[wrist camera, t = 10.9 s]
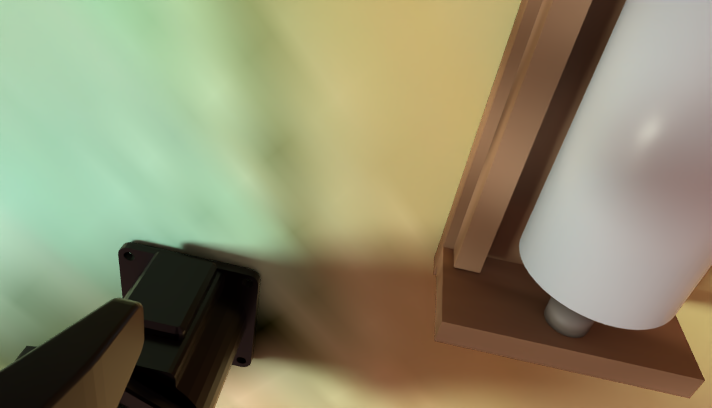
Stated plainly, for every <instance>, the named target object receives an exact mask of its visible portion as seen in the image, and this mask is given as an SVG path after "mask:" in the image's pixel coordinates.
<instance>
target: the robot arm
mask: <svg viewBox="0 0 712 408" xmlns="http://www.w3.org/2000/svg"><path fill="white" fill-rule="evenodd" d="M129 252H130V253H132V254H133V255H132V254H130V253H129ZM118 256H119V266H120V276H121V286H122V296H123V298H114V299H112V300H110V301H109V302H107V303H105V304H104V305H102V306H101V307H99V308H98V309H96V310H94V311H93V312H91V313H90V314H88V315H87V316H85V317H83V318H82V319H80V320H79V321H77V322H76V323H74V324H73V325H71V326H69V327H68V328H66V329H65V330H63V331H62V332H60V333H58V334H57V335H55V336H54V337H52V338H51V339H49V340H47V341H46V342H44V343H43V344H41V345H40V346H38V347H33V346H26V348H25V349H24V350H23V351H22V352H21V354H20V355H19V356H18V357H17V359H16V360H15V361H14V362H13V363H11V364H10V365H8V366H7V367H5V368H4V369H2V370H1V371H0V408H215V405H216V403H217V400H218V398H219V395H220V393H221V390H222V388H223V385H224V383H225V380H226V377H227V375H228V372H229V370H230V367H231V365H236V366H240V367H247V366H249V365H250V363H251V361H252V358H253V352H254V342H255V332H256V322H257V312H258V302H259V292H260V282H261V278H260V275H259V274H258V273H257V272H256V271H254V270H252V269H248V268H244V267H239V266H235V265H230V264H226V263H221V262H217V261H212V260H208V259H204V258H199V257H195V256H190V255H186V254H181V253H177V252H172V251H168V250H163V249H159V248H155V247H150V246H146V245H141V244H137V243H132V242H128V243H125V244H124V245H123V246H122V247H121V249H120V250H119V252H118ZM247 279H249V280H251V281H248V280H247Z"/></svg>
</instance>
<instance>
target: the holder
mask: <svg viewBox="0 0 712 408" xmlns="http://www.w3.org/2000/svg"><path fill="white" fill-rule="evenodd" d="M625 2H626V0H522V1H521V4H520V7H519V10H518V13H517V16H516V19H515V22H514V25H513V28H512V31H511V34H510V37H509V40H508V43H507V45H506V48H505V51H504V54H503V57H502V60H501V63H500V66H499V69H498V72H497V75H496V78H495V81H494V84H493V87H492V90H491V93H490V96H489V98H488V101H487V104H486V107H485V110H484V113H483V116H482V119H481V122H480V125H479V128H478V131H477V134H476V137H475V140H474V143H473V146H472V149H471V151H470V154H469V157H468V160H467V163H466V166H465V169H464V172H463V175H462V178H461V181H460V184H459V187H458V190H457V193H456V196H455V199H454V202H453V204H452V207H451V210H450V213H449V216H448V219H447V222H446V225H445V228H444V231H443V234H442V237H441V240H440V243H439V246H438V249H437V252H436V255H435V257H434V275H436V306H435V341H437V342H441V343H446V344H450V345H455V346H459V347H464V348H468V349H473V350H477V351H481V352H486V353H490V354H495V355H499V356H504V357H508V358H513V359H517V360H521V361H526V362H530V363H535V364H539V365H544V366H548V367H553V368H557V369H561V370H566V371H570V372H575V373H579V374H584V375H588V376H593V377H597V378H601V379H606V380H610V381H615V382H619V383H624V384H628V385H633V386H637V387H641V388H646V389H650V390H655V391H659V392H664V393H668V394H673V395H677V396H681V397H686V398H690V397H691V396H692V395H693V394H694V393H695V391H696V390H697V389H698V388H699V387H700V386H701V384H702V383H703V382H704V381H705V380H704V377H703V375H702V373H701V371H700V369H699V366H698V364H697V362H696V360H695V357H694V355H693V353H692V351H691V349H690V346H689V344H688V342H687V340H686V337H685V335H684V333H683V331H682V329H681V326H680V324H679V322H678V320H677V317H676V315H675V316H674V317H673V318H672V319H671V320H670V321H669V322H668V323H666V324H665V325H663V326H660V327H657V328H653V329H647V330H631V329H623V328H617V327H613V326H609V325H605V324H602V323H600V322H597V321H594V320H591V319H589V318H587V317H585V316H582V315H580V314H578V313H577V312H575V311H573V310H571V309H569V308H568V307H566V306H564V305H563V304H561V303H560V302H558V301H557V300H556V299H554V298H553V297H552V296H550V295H549V294H548V293H547V292H546V291H545V290H543V289H542V288H541V287H540V286H539V284H538V283H537V282H536V281H535V280H534V279H533V278H532V276H531V275H530V274H529V272H528V271H527V269H526V268H525V266H524V264H523V261H522V259H521V256H520V252H519V242H520V238H521V236H522V233H523V231H524V229H525V227H526V224H527V222H528V220H529V218H530V215H531V213H532V211H533V209H534V207H535V204H536V202H537V200H538V198H539V195H540V193H541V191H542V189H543V186H544V184H545V182H546V180H547V177H548V175H549V173H550V171H551V168H552V166H553V164H554V162H555V159H556V157H557V155H558V153H559V150H560V148H561V146H562V144H563V141H564V139H565V137H566V135H567V132H568V130H569V128H570V126H571V123H572V121H573V119H574V117H575V114H576V112H577V110H578V108H579V105H580V103H581V101H582V99H583V96H584V94H585V92H586V90H587V87H588V85H589V83H590V81H591V78H592V76H593V74H594V72H595V69H596V67H597V65H598V63H599V61H600V58H601V56H602V54H603V52H604V49H605V47H606V45H607V43H608V40H609V38H610V36H611V34H612V31H613V29H614V27H615V25H616V22H617V20H618V18H619V16H620V13H621V11H622V9H623V7H624V4H625Z"/></svg>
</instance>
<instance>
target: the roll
mask: <svg viewBox="0 0 712 408" xmlns="http://www.w3.org/2000/svg"><path fill="white" fill-rule="evenodd" d="M519 252H520V256H521V259H522V261H523V264H524V266H525V268H526V269H527V271H528V272H529V274H530V275H531V276H532V278H533V279H534V280H535V281H536V282H537V283H538V284H539V286H540V287H541V288H542V289H543V290H545V291H546V292H547V293H548V294H549V295H550V296H552V297H553V298H554V299H556V300H557V301H558V302H560V303H561V304H563V305H564V306H566V307H568V308H569V309H571V310H573V311H575V312H577V313H578V314H580V315H582V316H585V317H587V318H589V319H591V320H594V321H597V322H600V323H602V324H605V325H609V326H613V327H617V328H623V329H631V330H647V329H653V328H657V327H660V326H663V325H665V324H666V323H668V322H669V321H670V320H671V319H672V318H673V317H674V316H675V315H676V313H677V312H678V311H679V309H680V308H681V306H682V305H683V304H684V302H685V301H686V300H687V298H688V297H689V296H690V294H691V293H692V291H693V290H694V289H695V287H696V286H697V285H698V283H699V282H700V281H701V279H702V278H703V276H704V275H705V274H706V272H707V271H708V270H709V268H710V267H711V265H712V0H626V2H625V4H624V7H623V9H622V11H621V13H620V16H619V18H618V20H617V22H616V25H615V27H614V29H613V31H612V34H611V36H610V38H609V40H608V43H607V45H606V47H605V49H604V52H603V54H602V56H601V58H600V61H599V63H598V65H597V67H596V69H595V72H594V74H593V76H592V78H591V81H590V83H589V85H588V87H587V90H586V92H585V94H584V96H583V99H582V101H581V103H580V105H579V108H578V110H577V112H576V114H575V117H574V119H573V121H572V123H571V126H570V128H569V130H568V132H567V135H566V137H565V139H564V141H563V144H562V146H561V148H560V150H559V153H558V155H557V157H556V159H555V162H554V164H553V166H552V168H551V171H550V173H549V175H548V177H547V180H546V182H545V184H544V186H543V189H542V191H541V193H540V195H539V198H538V200H537V202H536V204H535V207H534V209H533V211H532V213H531V215H530V218H529V220H528V222H527V224H526V227H525V229H524V231H523V233H522V236H521V238H520V242H519Z"/></svg>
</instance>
